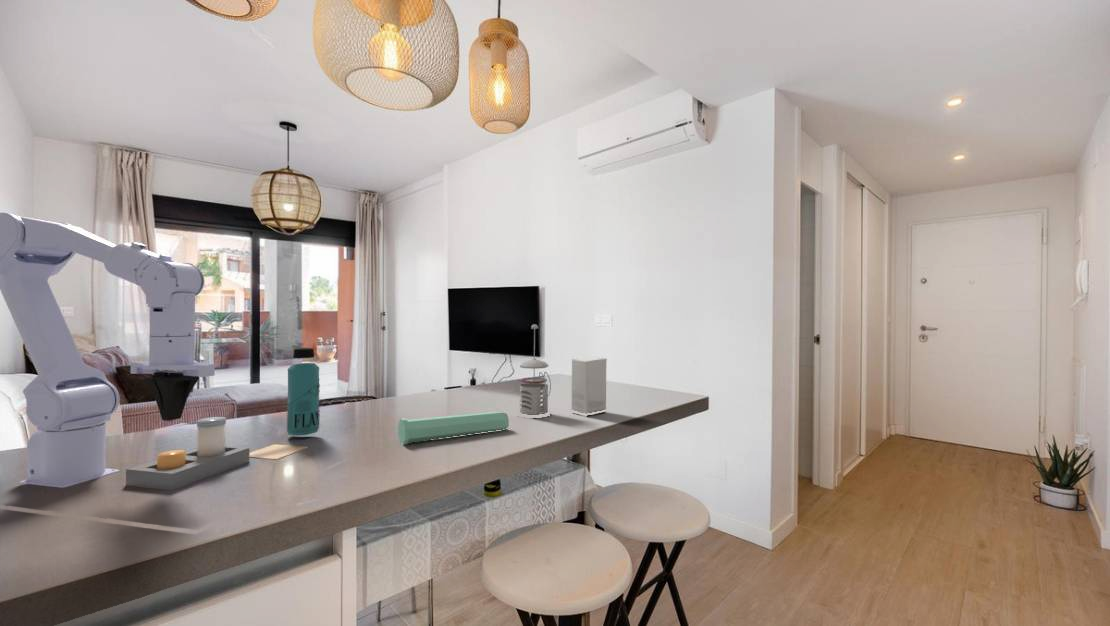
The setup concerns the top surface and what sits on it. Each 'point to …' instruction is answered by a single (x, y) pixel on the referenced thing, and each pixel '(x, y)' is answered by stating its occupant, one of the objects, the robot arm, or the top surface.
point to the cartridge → (211, 436)
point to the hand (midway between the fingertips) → (171, 419)
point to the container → (450, 426)
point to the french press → (534, 388)
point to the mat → (275, 451)
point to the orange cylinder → (171, 459)
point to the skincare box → (588, 384)
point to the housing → (186, 469)
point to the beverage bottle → (303, 395)
